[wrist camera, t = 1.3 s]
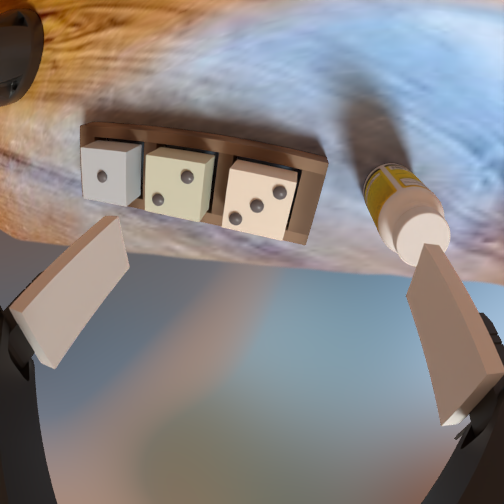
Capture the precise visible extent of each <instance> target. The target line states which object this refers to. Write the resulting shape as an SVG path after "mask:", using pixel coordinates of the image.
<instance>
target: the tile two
mask: <svg viewBox="0 0 504 504" xmlns="http://www.w3.org/2000/svg"><path fill="white" fill-rule="evenodd" d="M214 160H215V155H211V154H205V153H199V152H192V151H186V150H179V149H172V148H165V147H159V148H158V149H156V150H154V151H152V152H150V153H148V154H147V155H146V170H145V211H149V212H154V213H159V214H163V215H168V216H173V217H177V218H182V219H187V220H191V221H196V222H200V220H201V219H202V218H203V216H204V215H205V213H206V212H207V210H208V209H209V202H210V193H211V184H212V176H213V168H214Z"/></svg>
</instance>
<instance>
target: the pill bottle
mask: <svg viewBox="0 0 504 504" xmlns="http://www.w3.org/2000/svg"><path fill="white" fill-rule="evenodd" d="M363 195H364V200H365V203H366V206H367V208H368V210H369V212H370V214H371V216H372V219H373V221H374V223H375V225H376V227H377V230H378V232H379V234H380V236H381V238H382V240H383V242H384V243H385V244H386V246H387V247H388V248H390V249H391V250H392V251H394V252H396V253H398V255H399V257H400V258H401V259H402V260H403V261H404V262H405V263H407V264H409V265H412V266H417V264H418V260H419V257H420V254H421V251H422V248H423V245H424V243H426V244H434V245H439V246H440V247H441V249H442V250H443V252H445V251H446V249H447V247H448V245H449V241H450V229H449V225H448V223H447V221H446V220H445V219H444V210H443V207H442V205H441V203H440V201H439V199H438V198H437V197H436V196H435V195H434V193H433V192H431V191H430V190H429V189H428V188H427V187H426V186H425V185H424V184H423V183H422V182H421V181H420V180H419V179H418V178H417V177H416V176H415V175H414V174H413V173H412V172H411V171H410V170H408V169H407V168H406V167H404V166H402V165H399V164H394V163H388V164H383V165H380V166H378V167H377V168H375V169H374V170H373V171H372V172H371V173H370V174H369V175H368V177H367V179H366V181H365V184H364V189H363Z"/></svg>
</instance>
